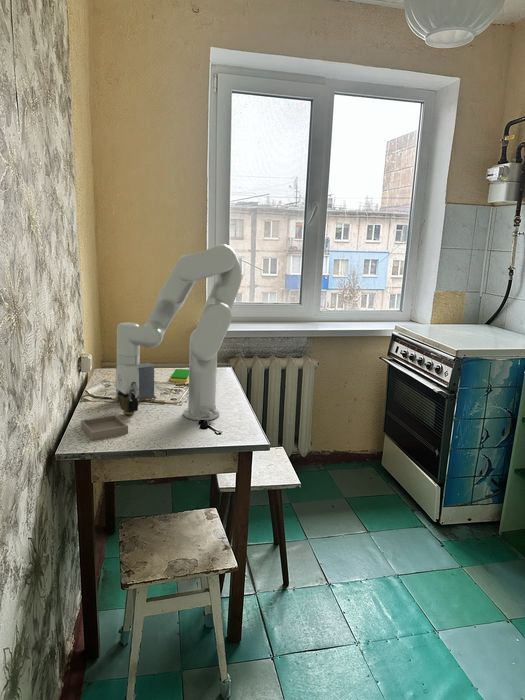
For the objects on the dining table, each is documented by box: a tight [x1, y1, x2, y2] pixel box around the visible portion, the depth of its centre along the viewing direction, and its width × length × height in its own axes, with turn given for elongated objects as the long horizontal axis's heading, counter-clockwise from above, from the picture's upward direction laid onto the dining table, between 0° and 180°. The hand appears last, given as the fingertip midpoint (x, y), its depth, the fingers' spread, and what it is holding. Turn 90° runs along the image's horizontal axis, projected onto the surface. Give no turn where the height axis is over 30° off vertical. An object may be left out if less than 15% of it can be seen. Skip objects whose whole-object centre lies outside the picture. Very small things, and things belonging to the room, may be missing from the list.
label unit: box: [114, 362, 157, 403], centre depth 182 cm, size 6×14×13 cm, turn 126°
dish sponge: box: [170, 368, 189, 383], centre depth 216 cm, size 7×14×2 cm, turn 0°
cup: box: [118, 391, 140, 417], centre depth 167 cm, size 8×7×8 cm
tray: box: [80, 414, 129, 441], centre depth 153 cm, size 11×11×2 cm
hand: (127, 406), depth 168 cm, fingers open, 9 cm apart
